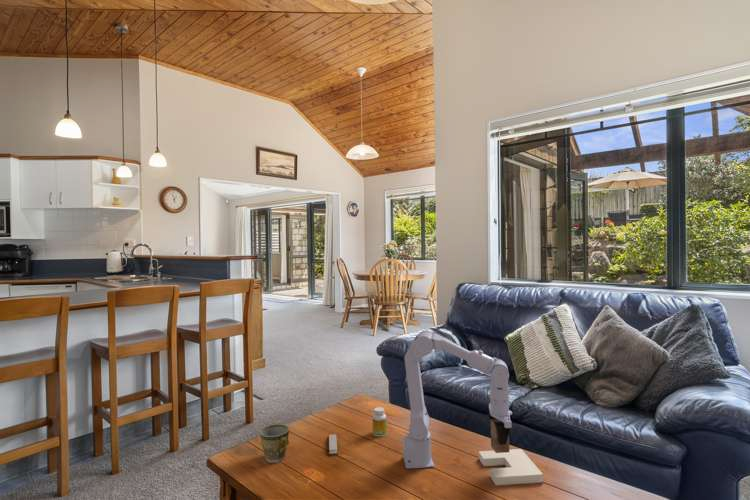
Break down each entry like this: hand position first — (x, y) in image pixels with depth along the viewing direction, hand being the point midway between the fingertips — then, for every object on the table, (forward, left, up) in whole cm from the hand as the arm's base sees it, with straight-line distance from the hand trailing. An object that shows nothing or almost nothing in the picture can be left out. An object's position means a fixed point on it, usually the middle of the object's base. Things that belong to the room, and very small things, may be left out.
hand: (499, 440), depth 133 cm
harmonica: (-55, +23, -11) cm, 60 cm away
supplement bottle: (-37, +30, -10) cm, 49 cm away
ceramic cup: (-74, +15, -10) cm, 76 cm away
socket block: (+3, 0, -10) cm, 10 cm away
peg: (0, 0, -3) cm, 3 cm away
